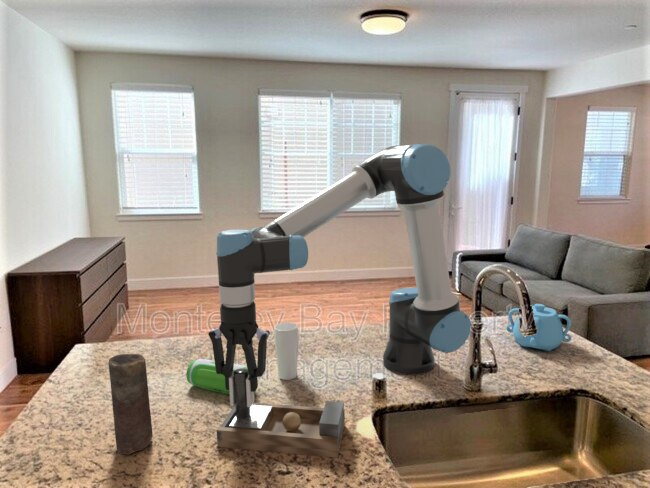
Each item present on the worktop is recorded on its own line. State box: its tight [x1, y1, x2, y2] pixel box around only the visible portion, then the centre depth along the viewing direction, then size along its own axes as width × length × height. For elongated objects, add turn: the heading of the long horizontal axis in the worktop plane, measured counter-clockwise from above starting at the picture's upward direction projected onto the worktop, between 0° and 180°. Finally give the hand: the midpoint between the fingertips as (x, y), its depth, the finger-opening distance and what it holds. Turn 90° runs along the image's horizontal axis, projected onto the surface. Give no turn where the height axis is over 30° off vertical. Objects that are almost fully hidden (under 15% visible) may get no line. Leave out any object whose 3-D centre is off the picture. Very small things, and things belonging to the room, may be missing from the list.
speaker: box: [185, 358, 249, 395], centre depth 123 cm, size 18×7×8 cm, turn 69°
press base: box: [216, 400, 346, 459], centre depth 101 cm, size 26×12×6 cm, turn 81°
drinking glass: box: [273, 321, 300, 381], centre depth 128 cm, size 7×7×15 cm
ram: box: [229, 368, 273, 431], centre depth 101 cm, size 7×9×13 cm
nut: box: [283, 412, 301, 432], centre depth 101 cm, size 4×4×4 cm
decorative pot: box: [506, 303, 572, 352], centre depth 149 cm, size 16×16×14 cm
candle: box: [108, 353, 154, 455], centre depth 97 cm, size 8×7×20 cm
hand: (242, 403), depth 102 cm, fingers closed on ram, 3 cm apart
